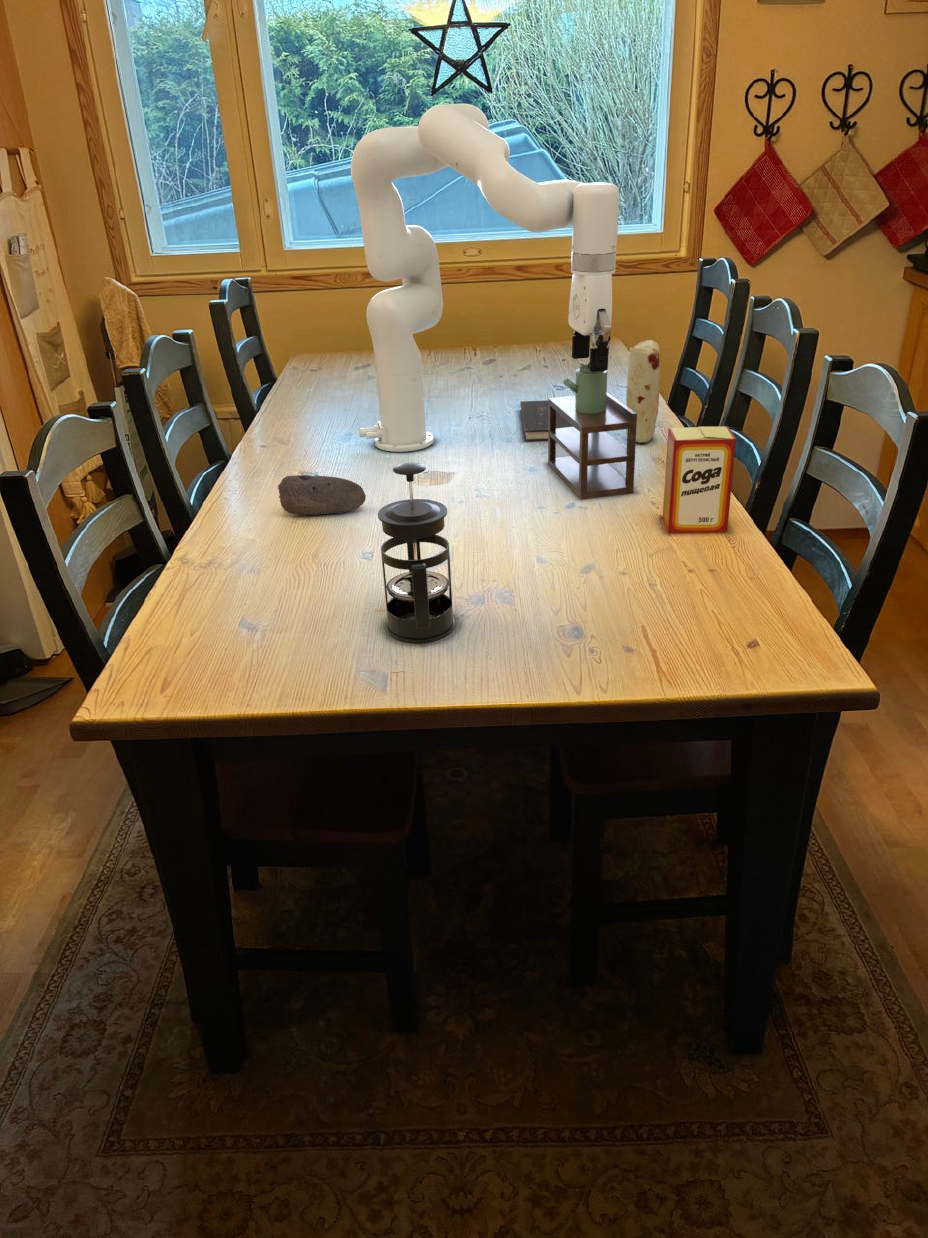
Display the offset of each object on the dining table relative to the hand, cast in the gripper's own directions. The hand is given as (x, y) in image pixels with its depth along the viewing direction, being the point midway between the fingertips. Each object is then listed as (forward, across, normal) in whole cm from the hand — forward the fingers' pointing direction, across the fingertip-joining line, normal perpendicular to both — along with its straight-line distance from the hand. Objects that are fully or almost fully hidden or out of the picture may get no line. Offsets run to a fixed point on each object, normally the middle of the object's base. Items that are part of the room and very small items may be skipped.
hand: (589, 364), depth 168 cm
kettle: (+8, +1, -1) cm, 8 cm away
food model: (+22, -18, +19) cm, 34 cm away
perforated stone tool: (+22, +3, -49) cm, 54 cm away
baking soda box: (+21, +28, +10) cm, 36 cm away
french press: (+21, +50, -40) cm, 67 cm away
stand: (+21, +1, +1) cm, 21 cm away
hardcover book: (+22, -34, +6) cm, 41 cm away
